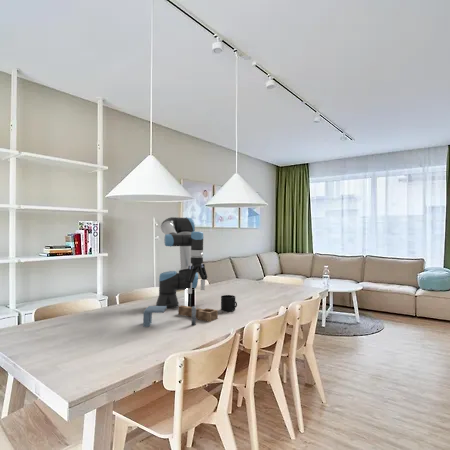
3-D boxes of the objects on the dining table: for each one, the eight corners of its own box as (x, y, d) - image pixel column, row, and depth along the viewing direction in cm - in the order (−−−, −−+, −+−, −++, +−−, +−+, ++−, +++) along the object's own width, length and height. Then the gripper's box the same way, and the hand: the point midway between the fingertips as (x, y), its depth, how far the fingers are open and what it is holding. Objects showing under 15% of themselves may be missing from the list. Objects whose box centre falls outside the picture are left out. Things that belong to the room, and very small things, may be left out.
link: (175, 315, 204) (175, 307, 204) (184, 312, 210) (184, 304, 211) (209, 321, 190) (209, 313, 190) (217, 318, 197) (217, 310, 197)
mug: (232, 313, 210) (232, 299, 210) (217, 310, 217) (218, 296, 218) (241, 310, 217) (241, 296, 217) (227, 307, 225) (227, 294, 225)
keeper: (166, 321, 189) (166, 306, 189) (163, 327, 178) (163, 310, 178) (146, 321, 189) (147, 305, 189) (142, 327, 178) (142, 310, 178)
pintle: (190, 324, 184) (190, 306, 184) (193, 323, 186) (193, 306, 186) (194, 325, 182) (194, 307, 182) (196, 324, 184) (196, 306, 185)
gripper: (189, 258, 189) (189, 295, 189) (213, 255, 211) (212, 289, 211) (179, 257, 193) (178, 294, 193) (203, 255, 215) (202, 288, 215)
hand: (196, 291), depth 202 cm, fingers open, 13 cm apart
